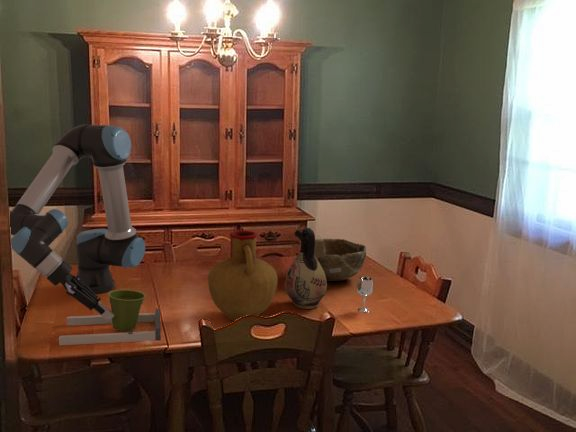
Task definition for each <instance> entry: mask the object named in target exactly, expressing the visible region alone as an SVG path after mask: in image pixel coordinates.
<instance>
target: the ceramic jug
mask: <svg viewBox="0 0 576 432" xmlns="http://www.w3.org/2000/svg"><path fill="white" fill-rule="evenodd" d="M294 236H295V237H296V238H298V239H299V241H300V250H299V252H298V254H297V255H296V256H295V257H294V259H293V260H292V263H291V264H290V265H289V268H288V270H287V273H286V277H285V281H284V287H285V291H286V292H285V293H286V294H287V296H288V298H289V299H290V300H291V301H292V303H293V305H294V307H296V308H300V309H303V310H305V309H307V310H311V309H314V308H318V307H319V305H320V301H321V300H322V299H323V298H324V296H325V294H326V293H327V289H328V283H327V282H328V281H326V276H325V273H324V271H323V268H322V267H321V265H320V263H319V262H318V260H317V259H316V257H315V256H314V248H315V240H316V235H315V232H314V230H313V229H311V228H310V227H305V228H303V229H302V231H301V230H300V229H296V230H295V232H294Z"/></svg>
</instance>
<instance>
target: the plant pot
mask: <svg viewBox="0 0 576 432" xmlns="http://www.w3.org/2000/svg"><path fill="white" fill-rule="evenodd" d="M107 296H108V298H109V304H110V311H111V312H113V314H114V315H115V316H114V317H113V318H112V324H111V325H112V328H113V329H114V330H118V331H121V332H129V331H132V330H135V329H136V328H137V323H138V322H137V320H138V316H139V314H140V313H141V312H140V311H141V307H142V305H143V303H144V302H143V301H144V299H145V298H146V297H147V296H146V294H145V293H143V292H141V291H138V290H135V289H134V290H133V289H116V290H110V291H108V292H107Z"/></svg>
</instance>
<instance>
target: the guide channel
mask: <svg viewBox="0 0 576 432" xmlns="http://www.w3.org/2000/svg"><path fill="white" fill-rule="evenodd" d="M150 322H151V323H152V322H153V323H154V325H155V327H154V330H151V331H147V330H146V331H132V330H131V331H126V332H111V333H92V334H91V333H90V334H87V333H86V334H68V335H59V337H58V344H59V346H75V345H76V346H77V345H92V344H93V345H94V344H113V343H129V342H149V341H150V342H151V341H154V342H155V341H161V308H155V312H147V313H146V312H145V313H139V316H138V320H137V323H150ZM104 324H105V325H107V324H111V325H113V324H112V319H111V320H110V321H109V322H108V321H107V320H105V319H104V318H103V317H102V316H101V315H100V314H97V315H80V316H67V317H66V325H67V326H68V327H69V326H87V325H104Z"/></svg>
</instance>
